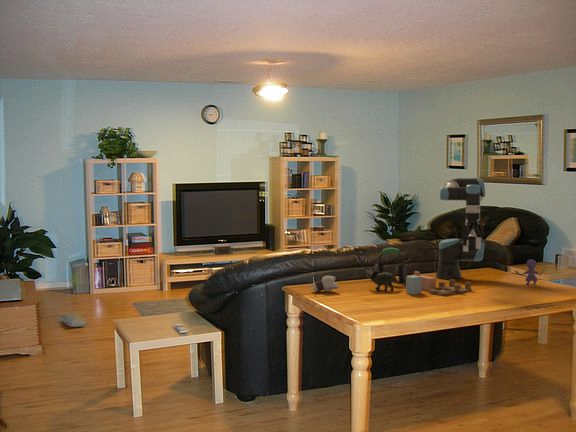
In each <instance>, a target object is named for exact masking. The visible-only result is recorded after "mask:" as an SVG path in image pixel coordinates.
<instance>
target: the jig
mask: <svg viewBox="0 0 576 432" xmlns="http://www.w3.org/2000/svg"><path fill="white" fill-rule="evenodd" d="M448 280H449V281H448V283H449V284H448V285H446V282H445V281H439V282H438V287H436V288H433V289H429V291H428V294H432V295H436V296H442V297H445V296H447V297H448V296H450V295H451V296H452V295H456V294H458V295H459V294H465V293H468V292H472V291H473V290H472V282H469V281H465V283H464V287H462V285H461V284H457V283H456V279H448Z"/></svg>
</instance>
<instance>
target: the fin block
mask: <svg viewBox="0 0 576 432" xmlns="http://www.w3.org/2000/svg"><path fill="white" fill-rule="evenodd" d="M412 275H413V276H411V275H407V277H406V281H405V293H406V294H408V295H417V294H422V276H416V275H414V274H412Z"/></svg>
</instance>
